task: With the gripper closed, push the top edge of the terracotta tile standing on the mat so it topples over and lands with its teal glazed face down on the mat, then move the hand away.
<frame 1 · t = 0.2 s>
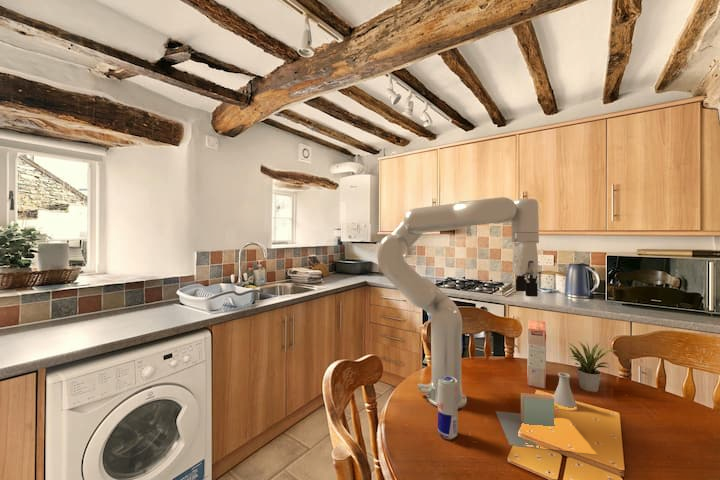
hand: (526, 293, 98), 36 cm above the table, tool pointing down, fingers open, 9 cm apart
mat: (541, 432, 85), on the table
beverage can: (447, 435, 84), on the table
tile: (537, 424, 88), resting on mat
flask: (564, 406, 98), on the table
cracker box: (537, 381, 116), on the table
house plant: (592, 388, 110), on the table
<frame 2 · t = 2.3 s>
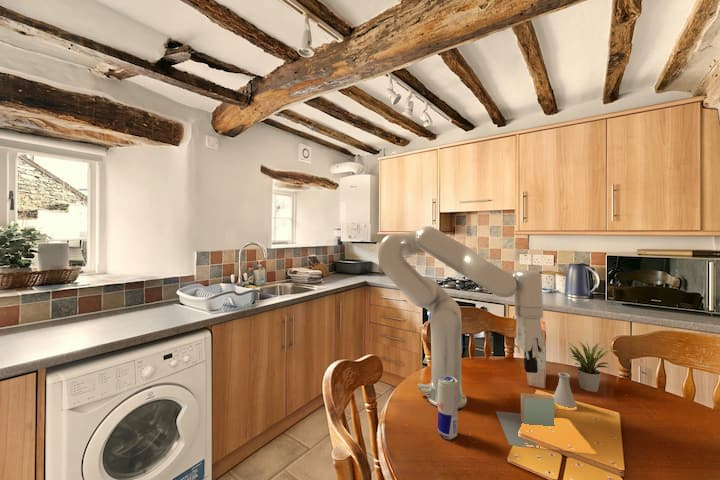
hand: (531, 371, 95), 12 cm above the table, tool pointing down, fingers closed
nothing on the table moved.
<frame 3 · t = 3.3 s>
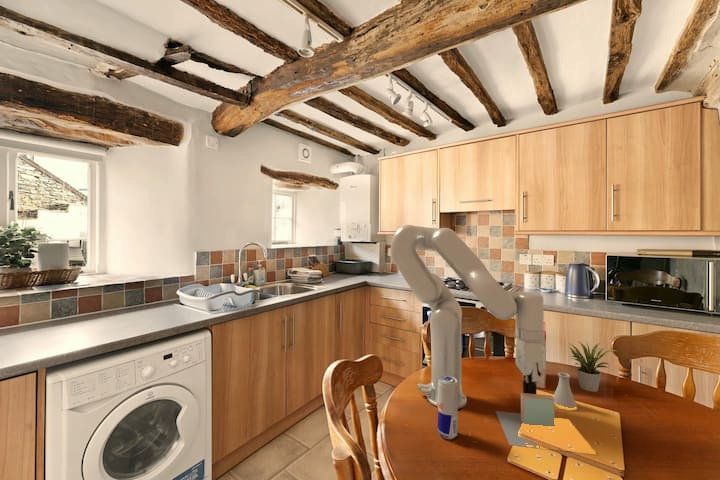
hand: (529, 394, 94), 6 cm above the table, tool pointing down, fingers closed
nothing on the table moved.
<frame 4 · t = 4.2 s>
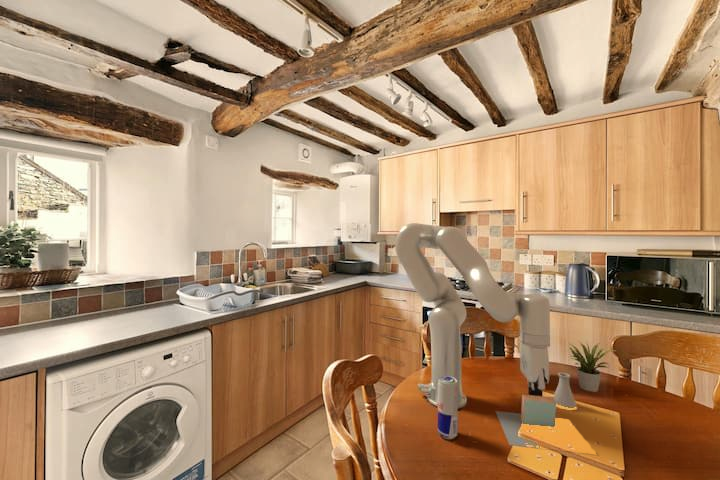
hand: (535, 402, 90), 6 cm above the table, tool pointing down, fingers closed
tile: (537, 423, 88), point 1 cm above the table, tilted 10°, touching gripper, mat
everything else where it was.
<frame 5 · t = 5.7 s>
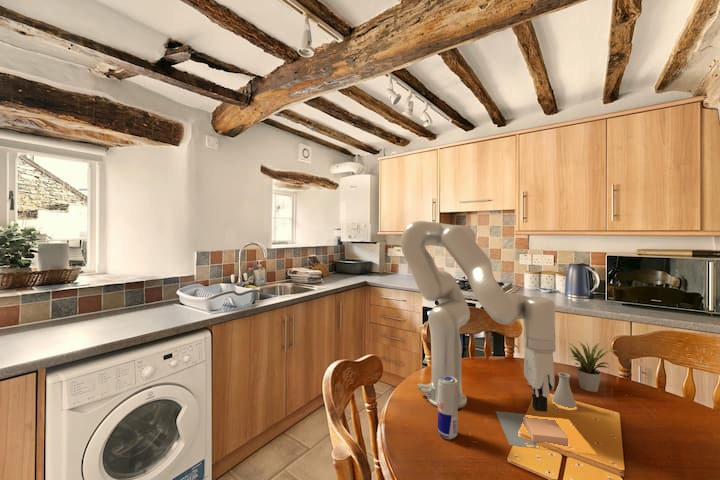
hand: (539, 409, 86), 6 cm above the table, tool pointing down, fingers closed
tile: (538, 422, 87), point 2 cm above the table, tilted 90°, touching mat
everything else where it was.
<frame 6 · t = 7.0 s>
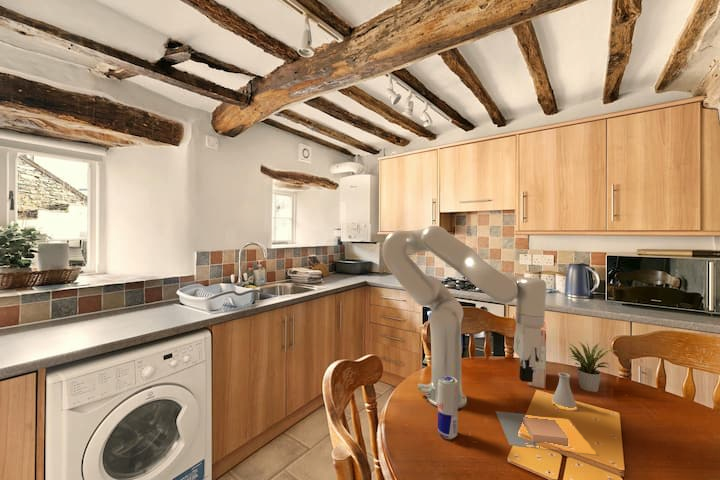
hand: (525, 380, 93), 10 cm above the table, tool pointing down, fingers closed
nothing on the table moved.
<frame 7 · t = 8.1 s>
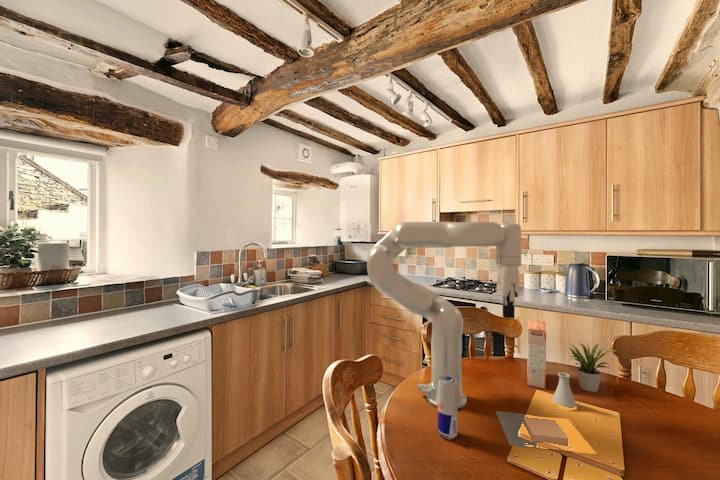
hand: (508, 317, 102), 27 cm above the table, tool pointing down, fingers closed
nothing on the table moved.
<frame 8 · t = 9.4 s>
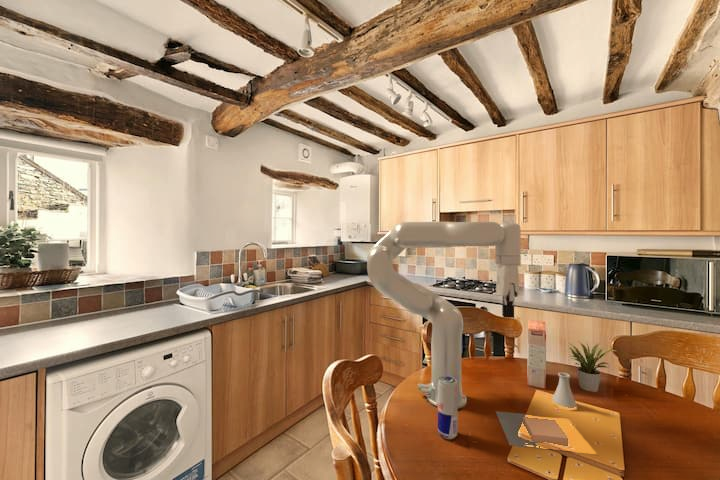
hand: (508, 316, 102), 27 cm above the table, tool pointing down, fingers closed
nothing on the table moved.
at the end: tile tilted 90°; tile inside the target area (2.3 cm from its centre), point 1.7 cm above the table; the gripper is holding nothing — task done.
